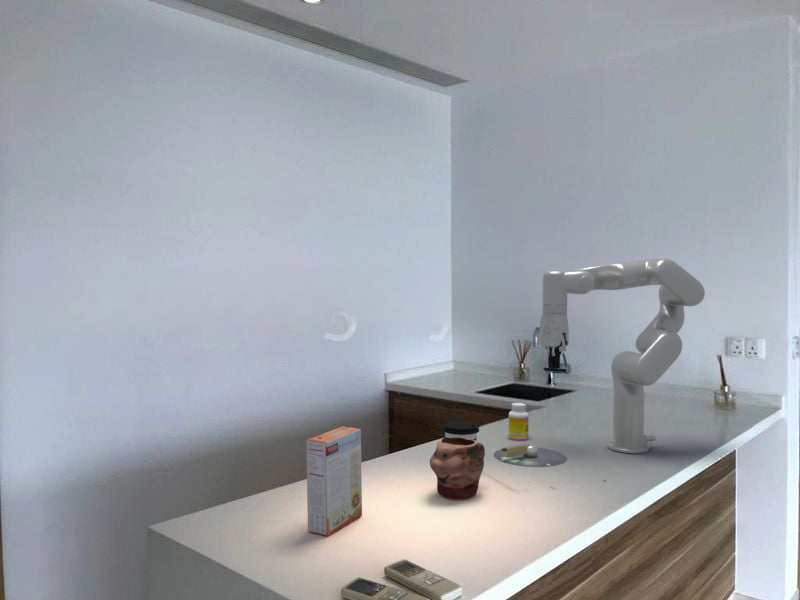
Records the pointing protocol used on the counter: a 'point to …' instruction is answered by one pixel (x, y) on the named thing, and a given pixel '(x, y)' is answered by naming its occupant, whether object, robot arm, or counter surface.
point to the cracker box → (334, 480)
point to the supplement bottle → (518, 422)
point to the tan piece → (520, 450)
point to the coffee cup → (461, 430)
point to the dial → (534, 458)
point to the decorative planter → (458, 467)
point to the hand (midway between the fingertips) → (554, 368)
